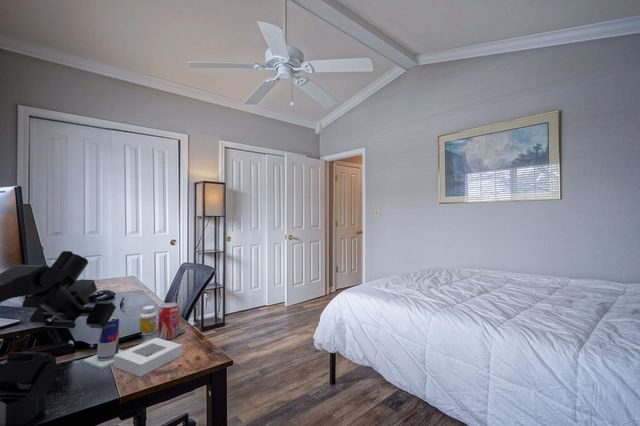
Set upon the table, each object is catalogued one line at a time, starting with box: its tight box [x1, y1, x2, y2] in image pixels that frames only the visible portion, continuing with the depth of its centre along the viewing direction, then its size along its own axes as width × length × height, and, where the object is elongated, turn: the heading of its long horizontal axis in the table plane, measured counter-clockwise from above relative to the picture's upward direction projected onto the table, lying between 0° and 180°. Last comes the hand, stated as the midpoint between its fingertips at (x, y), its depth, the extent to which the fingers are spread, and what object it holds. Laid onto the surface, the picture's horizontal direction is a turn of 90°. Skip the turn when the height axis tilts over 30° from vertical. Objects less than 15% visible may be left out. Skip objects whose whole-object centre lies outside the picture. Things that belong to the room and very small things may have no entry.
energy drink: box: [96, 315, 120, 361], centre depth 92 cm, size 5×5×12 cm
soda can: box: [157, 301, 180, 341], centre depth 110 cm, size 7×7×12 cm
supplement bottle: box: [139, 305, 157, 336], centre depth 113 cm, size 5×5×10 cm
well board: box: [113, 337, 183, 377], centre depth 92 cm, size 14×12×4 cm
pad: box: [83, 348, 124, 370], centre depth 92 cm, size 9×9×1 cm
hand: (90, 327), depth 83 cm, fingers open, 9 cm apart
